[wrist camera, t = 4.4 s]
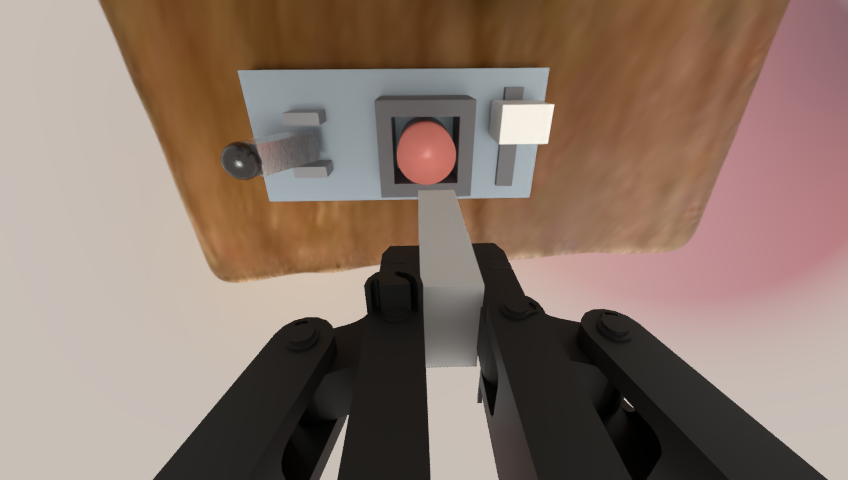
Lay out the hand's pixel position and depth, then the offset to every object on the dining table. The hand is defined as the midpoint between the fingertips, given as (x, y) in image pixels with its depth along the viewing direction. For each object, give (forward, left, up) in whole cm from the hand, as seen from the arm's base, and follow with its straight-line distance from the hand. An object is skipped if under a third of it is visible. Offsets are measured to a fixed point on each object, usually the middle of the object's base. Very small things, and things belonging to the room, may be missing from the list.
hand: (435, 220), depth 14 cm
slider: (-2, +8, -18) cm, 20 cm away
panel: (0, -2, -22) cm, 22 cm away
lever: (0, -10, -18) cm, 21 cm away
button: (0, 0, -18) cm, 18 cm away
